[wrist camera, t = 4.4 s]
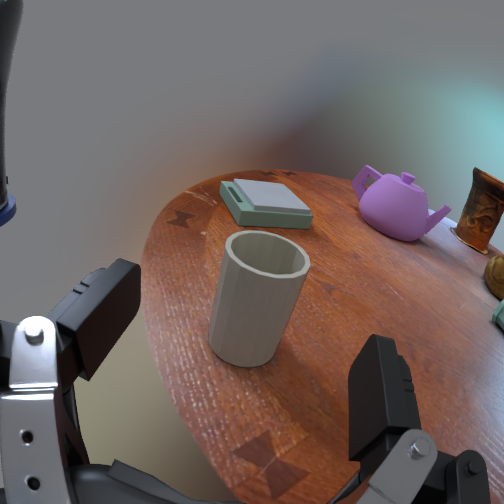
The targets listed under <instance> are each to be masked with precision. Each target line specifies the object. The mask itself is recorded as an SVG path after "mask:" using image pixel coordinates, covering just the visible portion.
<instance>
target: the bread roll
mask: <svg viewBox="0 0 504 504" xmlns="http://www.w3.org/2000/svg"><path fill="white" fill-rule="evenodd" d="M484 276H485V283H486V285H487V286H488V288H489V290H490V291H491V292H492V293H493V294H494V295H495V296H497V297H498V298H500V299H501V300H503V299H504V255H497V256H494V257H493V258H492V259H491V260H490V261H489V262H488V263H487V265H486V268H485V272H484Z"/></svg>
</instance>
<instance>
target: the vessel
mask: <svg viewBox="0 0 504 504" xmlns="http://www.w3.org/2000/svg"><path fill="white" fill-rule="evenodd" d="M503 212H504V183H503V182H501V181H500V180H498V179H496V178H495V177H493V176H491V175H489V174H487V173H485V172H483V171H481V170H480V169H478V168H476V167H475V168H474V169H473V183H472V188H471V191H470V193H469V196H468V199H467V202H466V204H465V206H464V209H463V212H462V215H461V218H460V220H459V223H458V225H457V228H456V229H455V228H452V227H450V228H451V230H452V232H454V233H455V236H456V237H457V238H458V239H459V240H461V241H463V242H464V243H465V244H467V245H470V246H472V247H474V248H475V249H477V250H478V251H480V252H481V253H484V254H487V253H488V251H487V250H486V247H487V245H488V243H489V241H490V239H491V237H492V235H493V233H494V231H495V229H496V227H497V225H498V223H499V221H500V218H501V216H502V214H503Z"/></svg>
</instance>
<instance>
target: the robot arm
mask: <svg viewBox="0 0 504 504" xmlns="http://www.w3.org/2000/svg"><path fill="white" fill-rule="evenodd" d="M22 14H23V0H0V212H1V211H2V210H3V209H4V208H5V207H6V206H7V205H8V202H9V201H8V195H7V185H6V184H8V177H7V176H6V170H5V107H6V105H5V104H6V93H7V84H8V80H9V75H10V70H11V64H12V58H13V53H14V48H15V44H16V40H17V36H18V32H19V28H20V24H21V19H22ZM140 301H141V268H140V265H138V264H135V263H132V262H130V261H126V260H124V259H121V258H119V259H117V260H116V261H115V262H114V263H113V264H112V265H111V266H110V267H109V268H107V269H105V268H100V269H98V270H96V271H94V272H91V273H90V274H88V275H87V276H86V277H85V278H84V279H83V280H82V281H81V283H80V284H78V285H77V286H76V287H75V288H74V289H73V291H71V292H70V293H68V294H67V295H66V296H65V297H64V298H63V299H62V300H61V301H60V303H58V304H57V305H56V306H55V307H54V308H53V309H52V310H51V311H50V312H49V313H48V314H47V315H46V316H45V317H39V316H35V317H29V318H27V319H25V320H23V321H21V322H20V323H19V324H15V323H10V322H6V321H2V320H0V451H1V463H2V472H3V481H4V488H0V504H246V503H242V502H227V501H205V500H193V499H190V498H188V497H186V496H184V495H183V494H181V493H180V492H178V491H176V490H175V489H173V488H171V487H170V486H168V485H167V484H165V483H163V482H162V481H160V480H159V479H157V478H156V477H154V476H153V475H150V474H148V473H145V472H143V471H140V470H138V469H136V468H133V467H131V466H129V465H126V464H124V463H122V462H120V461H118V460H116V459H115V460H114V462H113V464H112V466H109V465H102V464H90V462H89V458H88V454H87V451H86V448H85V445H84V442H83V439H82V435H81V431H80V426H79V420H78V413H77V406H76V399H75V391H74V385H73V383H74V381H75V380H76V378H77V377H78V376H79V377H81V378H83V379H85V380H87V381H89V380H90V379H91V377H92V376H93V375H94V373H95V372H96V370H97V369H98V367H99V366H100V365H101V363H102V362H103V360H104V359H105V358H106V356H107V355H108V353H109V352H110V350H111V349H112V348H113V346H114V345H115V343H116V342H117V340H118V339H119V338H120V337H121V335H122V334H123V332H124V331H125V330H126V328H127V327H128V325H129V324H130V323H131V321H132V320H133V319H134V317H135V316H136V314H137V312H138V309H139V306H140ZM348 396H349V461H358V462H360V469H359V470H358V471H357V472H356V473H355V474H354V475H353V476H352V477H351V478H350V479H349V480H348V481H347V483H346V484H345V485H344V486H343V487H342V488H341V489H340V490H339V491H338V492H337V493H336V494H335V495H334V496H333V497H332V498H331V499H330V500H329V501H328V502H327V503H326V504H491V502H490V492H489V483H488V475H487V468H486V463H485V461H484V459H483V457H482V456H481V455H480V454H479V453H478V452H476V451H474V450H466V451H464V452H462V453H461V454H459V455H458V456H457V457H455V456H452V455H449V454H446V453H444V452H441V451H438V450H437V446H436V443H435V441H434V440H433V438H432V437H431V436H430V435H429V434H428V433H426V432H425V431H423V430H422V429H421V423H420V417H419V412H418V406H417V401H416V396H415V393H414V386H413V383H412V377H411V372H410V368H409V366H408V365H407V363H406V361H405V360H404V358H403V357H402V356H400V355H398V354H397V350H396V345H395V341H394V340H393V339H392V338H388V337H384V336H379V335H375V334H372V335H371V336H370V337H369V338H368V340H367V342H366V343H365V345H364V346H363V348H362V350H361V351H360V353H359V354H358V356H357V357H356V359H355V360H354V362H353V364H352V366H351V368H350V371H349V376H348Z"/></svg>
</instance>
